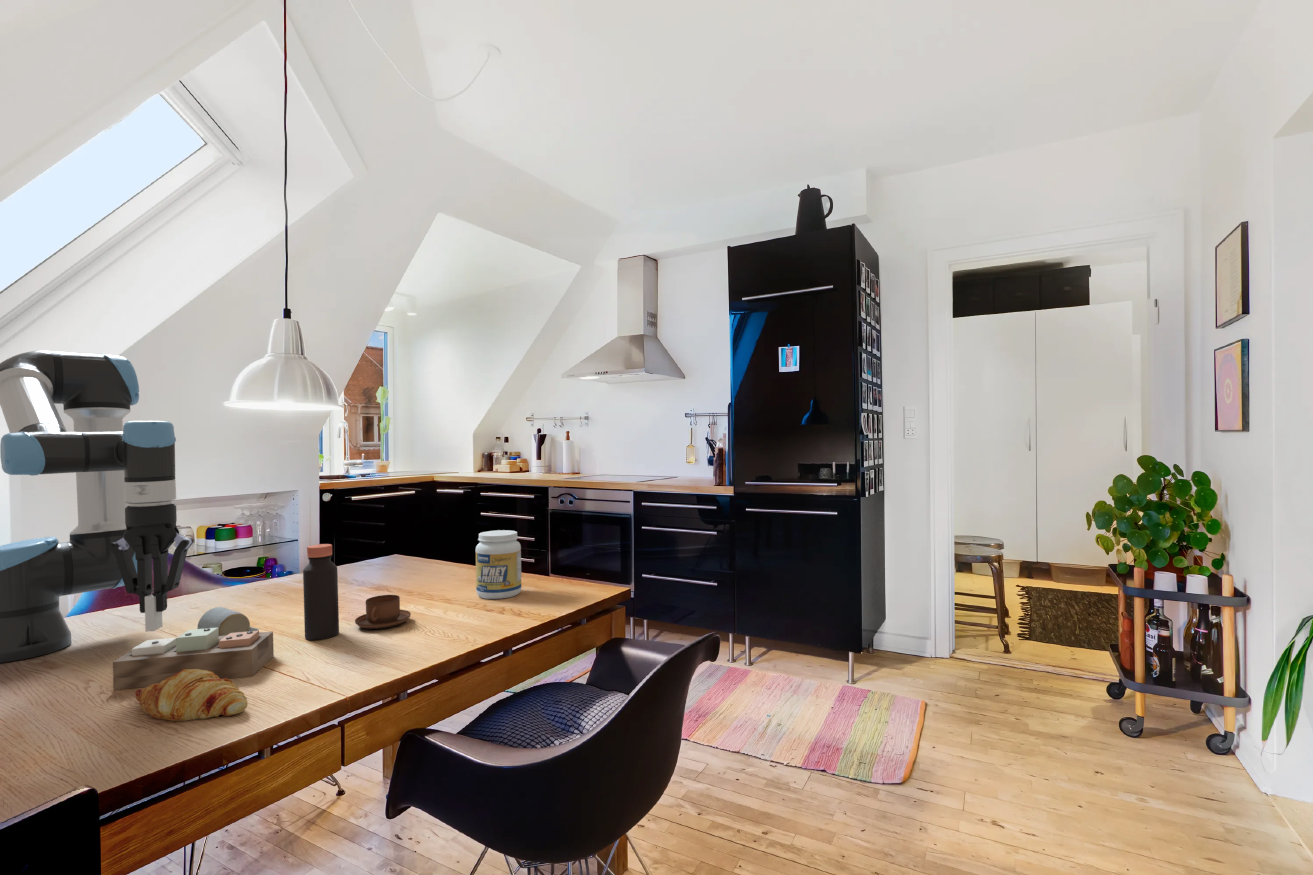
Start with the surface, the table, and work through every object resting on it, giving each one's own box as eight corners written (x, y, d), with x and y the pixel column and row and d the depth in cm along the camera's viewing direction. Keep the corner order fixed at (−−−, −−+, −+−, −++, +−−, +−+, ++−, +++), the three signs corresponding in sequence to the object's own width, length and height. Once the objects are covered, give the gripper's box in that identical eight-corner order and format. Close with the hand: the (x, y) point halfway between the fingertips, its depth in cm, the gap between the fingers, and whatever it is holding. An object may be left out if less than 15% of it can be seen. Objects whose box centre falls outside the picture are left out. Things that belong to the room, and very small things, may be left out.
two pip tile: (176, 656, 117) (175, 636, 117) (189, 647, 122) (188, 628, 122) (207, 653, 118) (206, 634, 118) (219, 645, 123) (218, 626, 123)
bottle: (346, 631, 143) (343, 543, 143) (322, 641, 136) (320, 549, 136) (321, 630, 145) (319, 542, 145) (297, 639, 138) (294, 548, 138)
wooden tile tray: (113, 689, 112) (112, 661, 112) (147, 667, 123) (146, 642, 123) (252, 676, 117) (251, 649, 117) (273, 655, 128) (273, 631, 128)
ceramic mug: (219, 650, 132) (219, 615, 132) (196, 646, 135) (196, 611, 136) (267, 636, 142) (266, 603, 142) (244, 632, 145) (244, 600, 145)
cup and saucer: (411, 628, 145) (410, 601, 145) (353, 635, 141) (352, 608, 140) (410, 614, 156) (410, 589, 156) (357, 621, 152) (356, 595, 152)
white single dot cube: (132, 667, 115) (131, 647, 115) (147, 658, 120) (147, 639, 120) (164, 664, 117) (163, 644, 117) (177, 655, 121) (177, 636, 121)
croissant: (260, 729, 104) (278, 677, 107) (212, 725, 95) (233, 669, 98) (153, 718, 108) (173, 668, 111) (98, 713, 99) (122, 659, 102)
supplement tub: (472, 601, 167) (470, 537, 167) (480, 589, 179) (479, 530, 179) (519, 599, 168) (517, 535, 168) (524, 587, 180) (523, 528, 180)
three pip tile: (219, 659, 119) (219, 639, 119) (230, 650, 124) (230, 631, 123) (249, 656, 120) (248, 637, 120) (259, 648, 125) (258, 629, 125)
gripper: (97, 507, 113) (100, 638, 113) (181, 504, 116) (184, 632, 117) (121, 502, 120) (125, 625, 121) (200, 499, 123) (202, 620, 124)
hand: (154, 628), depth 119 cm, fingers closed
